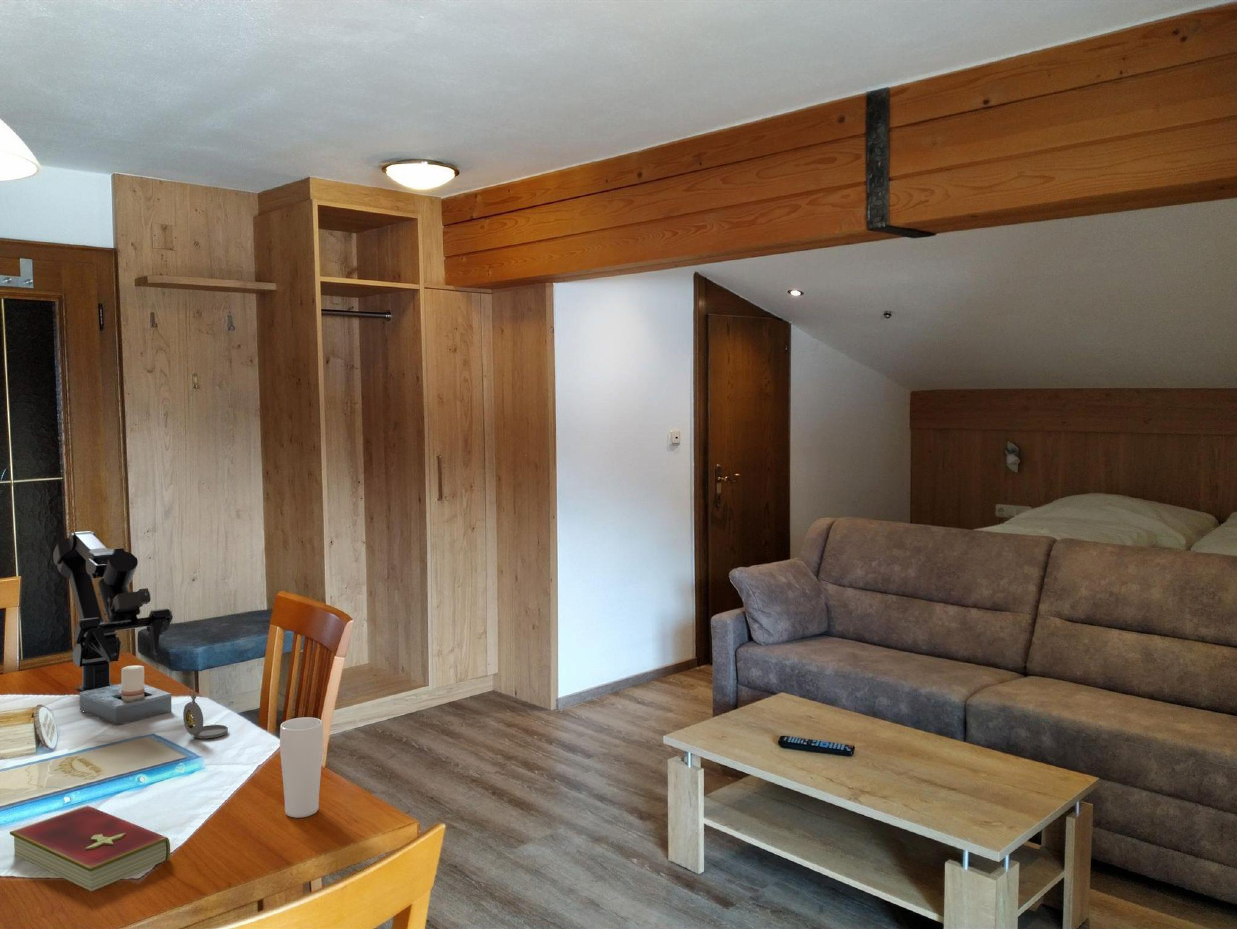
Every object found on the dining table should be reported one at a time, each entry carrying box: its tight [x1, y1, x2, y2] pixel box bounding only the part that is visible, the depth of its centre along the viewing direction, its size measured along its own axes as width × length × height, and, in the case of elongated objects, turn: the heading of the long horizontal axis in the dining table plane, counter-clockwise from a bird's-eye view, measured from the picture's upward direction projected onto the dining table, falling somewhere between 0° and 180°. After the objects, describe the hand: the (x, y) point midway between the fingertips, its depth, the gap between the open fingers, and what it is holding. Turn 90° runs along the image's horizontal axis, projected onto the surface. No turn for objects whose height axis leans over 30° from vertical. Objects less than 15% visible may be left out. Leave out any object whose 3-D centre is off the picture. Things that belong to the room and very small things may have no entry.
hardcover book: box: [9, 805, 171, 892], centre depth 143 cm, size 12×21×4 cm, turn 58°
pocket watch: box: [182, 690, 229, 739], centre depth 196 cm, size 8×8×10 cm
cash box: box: [79, 683, 172, 726], centre depth 211 cm, size 16×12×4 cm
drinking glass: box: [279, 716, 324, 819], centre depth 159 cm, size 7×7×15 cm
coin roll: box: [120, 665, 145, 702], centre depth 209 cm, size 4×4×10 cm
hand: (133, 657), depth 208 cm, fingers open, 9 cm apart
